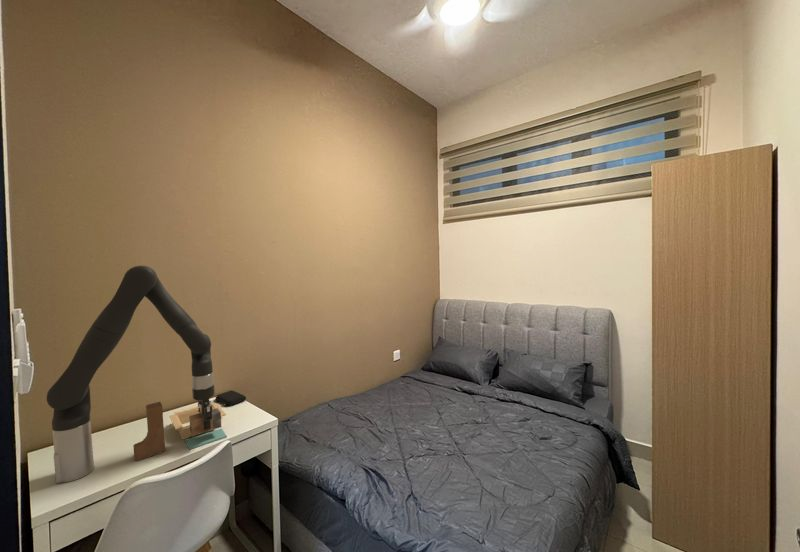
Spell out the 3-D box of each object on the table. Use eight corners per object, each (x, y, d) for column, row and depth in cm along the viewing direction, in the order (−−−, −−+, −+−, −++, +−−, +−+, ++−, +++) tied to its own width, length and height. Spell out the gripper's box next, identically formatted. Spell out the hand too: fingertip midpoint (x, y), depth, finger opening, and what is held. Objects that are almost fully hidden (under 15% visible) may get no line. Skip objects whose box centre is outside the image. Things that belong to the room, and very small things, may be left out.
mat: (189, 449, 130) (189, 448, 130) (185, 441, 136) (185, 440, 136) (226, 437, 138) (226, 435, 138) (221, 429, 144) (221, 428, 144)
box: (192, 435, 132) (191, 420, 131) (190, 430, 135) (189, 416, 135) (221, 426, 138) (220, 412, 138) (218, 422, 142) (217, 408, 141)
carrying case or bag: (211, 401, 173) (226, 409, 164) (211, 395, 172) (226, 403, 164) (232, 394, 181) (248, 401, 173) (232, 388, 181) (247, 395, 172)
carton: (177, 443, 134) (176, 431, 134) (169, 425, 149) (168, 414, 148) (227, 427, 146) (227, 415, 146) (216, 411, 161) (215, 401, 160)
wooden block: (135, 461, 123) (131, 412, 121) (134, 456, 126) (130, 408, 125) (165, 451, 129) (162, 404, 127) (163, 446, 132) (160, 401, 131)
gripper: (188, 382, 138) (191, 423, 140) (196, 393, 128) (199, 437, 129) (209, 377, 143) (211, 417, 144) (218, 387, 133) (221, 430, 134)
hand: (205, 426), depth 137 cm, fingers closed on box, 5 cm apart
